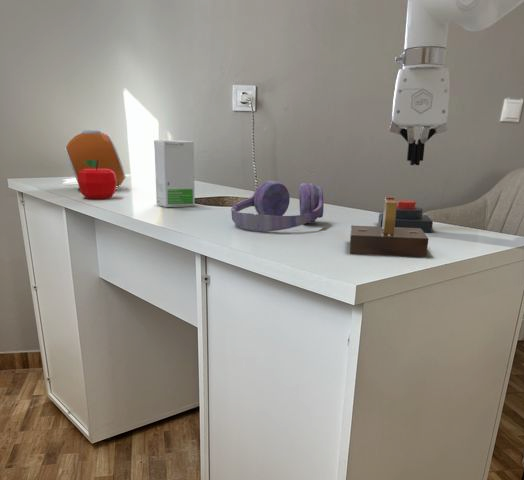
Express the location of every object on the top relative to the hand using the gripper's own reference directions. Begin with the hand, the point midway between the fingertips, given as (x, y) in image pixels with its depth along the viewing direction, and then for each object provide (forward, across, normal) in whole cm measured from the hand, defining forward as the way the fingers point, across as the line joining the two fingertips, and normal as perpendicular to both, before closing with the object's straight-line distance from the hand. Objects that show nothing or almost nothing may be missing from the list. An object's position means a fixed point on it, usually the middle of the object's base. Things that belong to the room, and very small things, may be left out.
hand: (414, 164), depth 110 cm
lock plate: (+12, -6, -24) cm, 27 cm away
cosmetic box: (+11, -56, +21) cm, 61 cm away
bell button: (+9, -1, 0) cm, 9 cm away
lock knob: (+9, -6, -24) cm, 26 cm away
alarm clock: (+10, -91, +53) cm, 106 cm away
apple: (+11, -81, +31) cm, 87 cm away
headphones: (+12, -27, -3) cm, 30 cm away
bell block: (+12, -1, 0) cm, 13 cm away
